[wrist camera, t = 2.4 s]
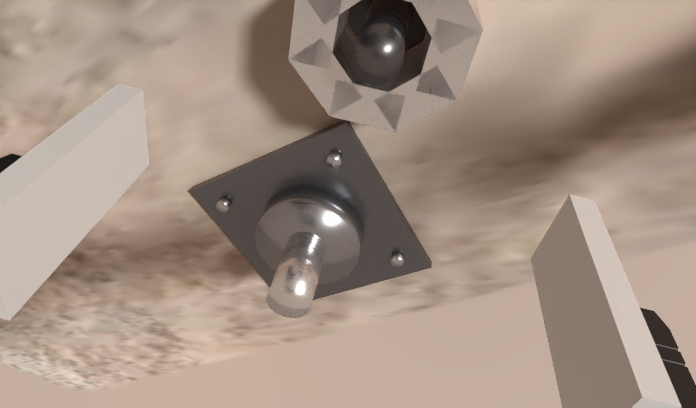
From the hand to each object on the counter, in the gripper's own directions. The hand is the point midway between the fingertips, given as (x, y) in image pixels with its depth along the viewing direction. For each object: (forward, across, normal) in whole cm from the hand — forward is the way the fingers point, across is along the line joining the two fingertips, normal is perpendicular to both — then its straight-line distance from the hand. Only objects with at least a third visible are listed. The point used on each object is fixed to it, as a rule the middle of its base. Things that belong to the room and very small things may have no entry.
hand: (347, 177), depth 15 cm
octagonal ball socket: (+16, 0, 0) cm, 16 cm away
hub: (+16, -2, -17) cm, 24 cm away
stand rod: (+16, 0, 0) cm, 16 cm away
